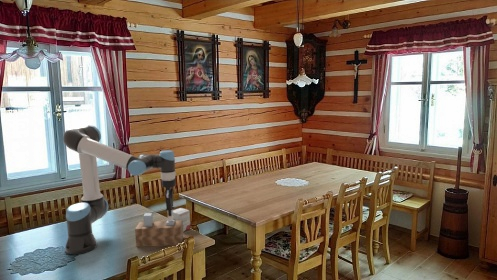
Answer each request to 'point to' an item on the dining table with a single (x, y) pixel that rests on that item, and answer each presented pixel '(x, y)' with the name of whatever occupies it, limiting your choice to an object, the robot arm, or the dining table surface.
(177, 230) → the socket block
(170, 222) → the peg
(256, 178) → the dining table surface
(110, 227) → the dining table surface
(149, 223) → the peg
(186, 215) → the ink box
